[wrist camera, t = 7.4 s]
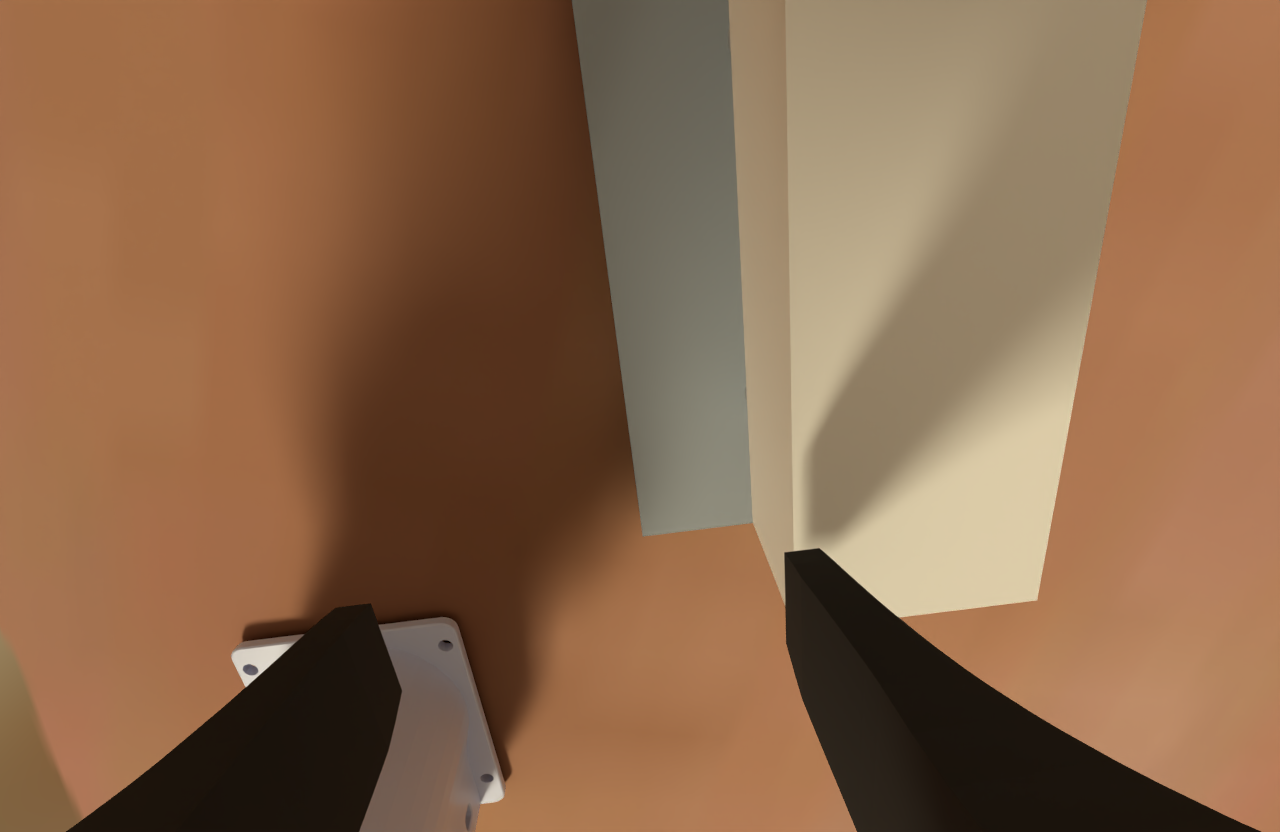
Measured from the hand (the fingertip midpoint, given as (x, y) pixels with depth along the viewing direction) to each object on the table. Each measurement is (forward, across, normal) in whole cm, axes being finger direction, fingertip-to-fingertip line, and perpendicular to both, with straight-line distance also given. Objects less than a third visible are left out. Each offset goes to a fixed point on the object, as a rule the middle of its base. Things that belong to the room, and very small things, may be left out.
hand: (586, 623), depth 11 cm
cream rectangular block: (+5, -6, -5) cm, 10 cm away
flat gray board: (+9, -6, -5) cm, 12 cm away
